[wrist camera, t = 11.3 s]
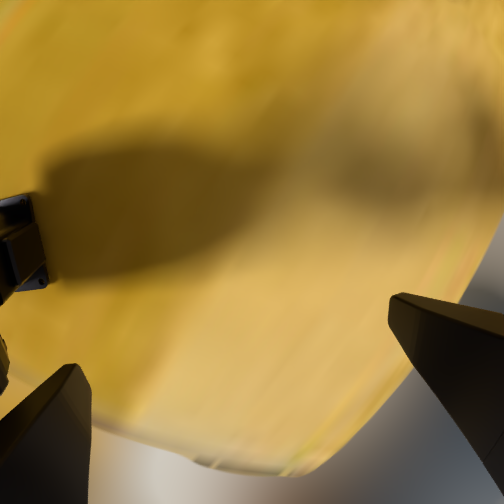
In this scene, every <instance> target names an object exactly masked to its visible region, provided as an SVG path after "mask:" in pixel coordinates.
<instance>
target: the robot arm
mask: <svg viewBox="0 0 504 504" xmlns="http://www.w3.org/2000/svg"><path fill="white" fill-rule="evenodd" d="M23 199H24V200H25V201H26V204H25V205H24V204H23V203H22V200H23ZM45 260H46V258H45V254H44V250H43V246H42V242H41V238H40V233H39V228H38V225H37V224H36V223H35V218H34V213H33V207H32V202H31V198H30V196H29V195H27V194H22V195H18V196H15V197H11V198H7V199H3V200H0V306H1V305H3V304H4V303H5V302H6V300H7V299H8V298H9V297H10V296H11V295H12V294H13V293H14V292H20V291H28V290H36V289H44V288H46V287H47V285H48V284H49V282H50V281H49V276H48V273H47V269H46V265H45ZM40 278H41V279H43V280H44V282H45V283H43V282H41V279H40ZM388 324H389V327H390V329H391V330H392V332H393V334H394V335H395V337H396V338H397V340H398V342H399V343H400V345H401V347H402V348H403V350H404V352H405V353H406V355H407V357H408V358H409V360H410V361H411V363H412V364H413V366H414V367H415V369H416V370H417V371H418V372H419V374H420V375H421V377H422V378H423V379H424V380H425V382H426V383H427V385H428V386H429V387H430V389H431V390H432V391H433V393H434V394H435V395H436V397H437V398H438V400H439V401H440V402H441V404H442V405H443V406H444V408H445V409H446V410H447V412H448V413H449V415H450V416H451V418H452V419H453V420H454V422H455V423H456V425H457V426H458V427H459V429H460V430H461V432H462V433H463V435H464V436H465V438H466V439H467V440H468V442H469V443H470V445H471V446H472V448H473V449H474V451H475V452H476V454H477V455H478V457H479V458H480V460H481V461H482V462H483V464H484V466H485V468H486V469H487V471H488V472H489V474H490V475H491V477H492V478H493V480H494V481H495V483H496V485H497V486H498V488H499V490H500V491H501V493H502V494H503V496H504V315H503V314H502V313H498V312H493V311H488V310H484V309H479V308H474V307H469V306H464V305H460V304H455V303H451V302H446V301H441V300H437V299H432V298H427V297H423V296H418V295H413V294H409V293H404V292H402V293H398V294H395V295H393V296H391V298H390V301H389V312H388ZM9 364H10V361H9V358H8V354H7V346H6V344H5V341H4V339H2V337H1V335H0V396H1V395H2V394H3V392H4V390H5V389H6V387H7V385H8V382H9V381H8V378H7V374H8V369H9ZM91 402H92V392H91V387H90V385H89V383H88V381H87V379H86V377H85V375H84V373H83V371H82V369H81V367H80V366H79V365H78V364H76V363H73V364H65V365H63V366H62V367H61V368H60V369H59V370H57V371H56V372H55V373H54V374H53V375H52V376H50V377H49V378H48V379H47V380H46V381H45V382H43V383H42V384H41V385H40V386H39V387H38V388H36V389H35V390H34V391H33V392H32V393H31V394H30V395H28V396H27V397H26V398H25V399H24V400H23V401H22V402H20V403H19V404H18V405H17V406H16V407H15V408H14V409H13V410H11V411H10V412H9V413H8V414H7V415H6V416H5V417H4V418H2V419H1V420H0V504H88V480H89V479H88V478H89V464H90V450H91Z"/></svg>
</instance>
